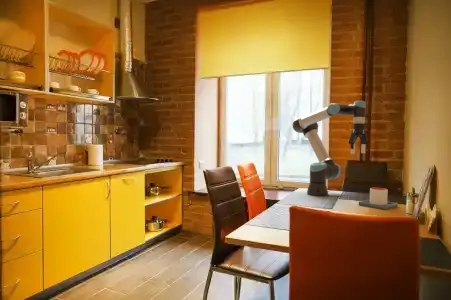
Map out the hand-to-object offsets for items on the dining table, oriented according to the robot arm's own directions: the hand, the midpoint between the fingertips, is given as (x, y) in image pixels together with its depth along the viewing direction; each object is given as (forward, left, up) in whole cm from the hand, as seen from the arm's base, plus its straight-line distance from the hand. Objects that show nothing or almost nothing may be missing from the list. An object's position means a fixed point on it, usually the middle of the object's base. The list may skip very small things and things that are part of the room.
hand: (357, 153), depth 231 cm
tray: (+23, -14, -31) cm, 41 cm away
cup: (+23, -14, -31) cm, 40 cm away
